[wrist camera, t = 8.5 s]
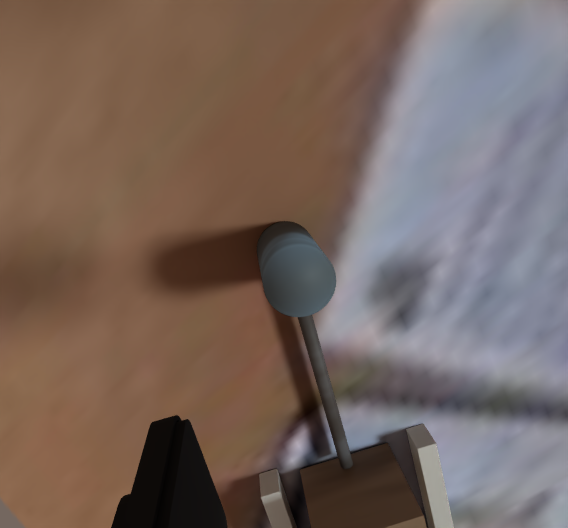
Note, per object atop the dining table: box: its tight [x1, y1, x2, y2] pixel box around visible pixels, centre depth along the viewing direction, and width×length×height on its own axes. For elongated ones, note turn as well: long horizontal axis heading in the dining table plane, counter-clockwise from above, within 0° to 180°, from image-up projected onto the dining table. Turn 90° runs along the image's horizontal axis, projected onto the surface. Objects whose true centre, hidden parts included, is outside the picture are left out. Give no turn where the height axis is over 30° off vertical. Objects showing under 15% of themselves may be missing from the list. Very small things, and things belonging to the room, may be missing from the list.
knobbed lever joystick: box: [257, 221, 427, 528], centre depth 26 cm, size 23×6×6 cm, turn 15°
